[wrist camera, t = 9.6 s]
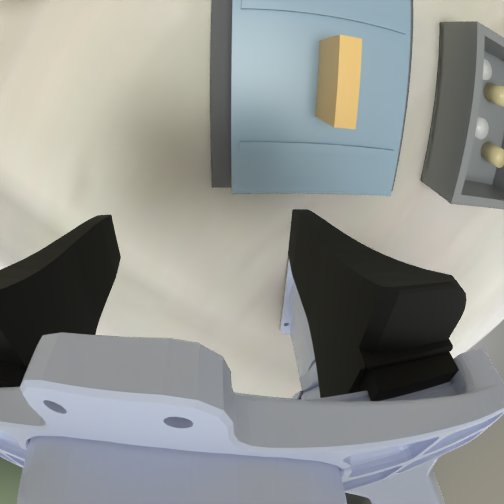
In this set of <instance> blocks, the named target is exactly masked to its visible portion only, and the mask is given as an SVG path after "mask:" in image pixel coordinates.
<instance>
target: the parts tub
mask: <svg viewBox="0 0 504 504" xmlns="http://www.w3.org/2000/svg"><path fill="white" fill-rule="evenodd" d="M421 181H422V182H423V183H425V184H426V185H427V186H429V187H430V188H431V189H433V190H434V191H435V192H437V193H438V194H439V195H440V196H442V197H443V198H444V199H446V200H447V201H448V202H449V203H451V204H458V205H469V206H478V207H488V208H497V209H504V38H503V37H502V36H500V35H498V34H497V33H495V32H494V31H492V30H490V29H489V28H487V27H485V26H484V25H482V24H480V23H479V22H443V23H440V45H439V63H438V75H437V86H436V95H435V103H434V111H433V118H432V124H431V130H430V136H429V142H428V147H427V153H426V158H425V163H424V168H423V172H422V177H421Z"/></svg>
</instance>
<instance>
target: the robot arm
mask: <svg viewBox="0 0 504 504" xmlns="http://www.w3.org/2000/svg"><path fill="white" fill-rule="evenodd" d="M288 256H289V259H288V267H287V276H286V284H285V292H284V301H283V309H282V316H281V324H280V332H281V333H282V334H291V338H292V343H293V348H294V352H295V357H296V361H297V366H298V371H299V375H300V383H301V387H302V391H300V392H298V393H296V394H295V395H294V396H293V398H292V399H290V398H278V397H268V396H258V395H250V394H242V393H235V392H233V389H232V384H231V371H230V369H229V367H228V366H227V364H226V362H225V360H224V358H223V356H221V355H219V354H217V353H215V352H214V351H212V350H210V349H208V348H206V347H205V346H203V345H201V344H199V343H197V342H191V341H185V340H179V339H174V338H145V337H120V336H102V335H95V334H96V329H97V326H98V322H99V319H100V316H101V314H102V311H103V308H104V306H105V303H106V301H107V298H108V296H109V293H110V291H111V288H112V286H113V283H114V280H115V278H116V274H117V271H118V267H119V262H120V258H121V256H120V252H119V248H118V244H117V240H116V235H115V231H114V226H113V221H112V216H111V215H98V216H96V217H93V218H91V219H89V220H88V221H86V222H84V223H83V224H81V225H79V226H78V227H76V228H75V229H73V230H72V231H70V232H69V233H67V234H66V235H64V236H62V237H61V238H59V239H58V240H56V241H54V242H53V243H51V244H50V245H48V246H47V247H45V248H43V249H42V250H40V251H38V252H36V253H35V254H33V255H31V256H29V257H27V258H25V259H23V260H21V261H19V262H17V263H15V264H12V265H10V266H8V267H6V268H4V269H1V270H0V457H2V458H4V459H6V460H8V461H10V462H12V463H14V464H16V465H18V466H21V467H23V471H22V476H21V481H20V487H19V493H18V499H17V504H347V502H346V497H345V492H346V493H351V494H355V495H360V496H363V497H367V498H369V499H370V501H371V503H372V504H446V503H445V501H444V498H443V495H442V492H441V490H440V487H439V485H438V482H437V480H436V478H435V475H434V473H433V470H432V467H433V465H434V464H435V462H436V461H437V459H438V457H440V456H442V455H444V454H446V453H448V452H450V451H452V450H454V449H456V448H458V447H460V446H462V445H464V444H466V443H468V442H470V441H472V440H473V439H475V438H476V437H477V436H479V435H480V434H481V433H482V432H483V431H484V430H486V429H487V428H488V427H489V426H491V425H492V424H493V423H494V422H495V421H496V420H497V419H499V418H500V417H501V416H502V415H503V414H504V382H503V381H502V379H501V377H500V375H499V373H498V372H497V370H496V368H495V366H494V365H493V363H492V361H491V360H490V358H489V356H488V355H487V353H486V351H485V350H484V348H478V349H475V350H472V351H468V352H465V353H462V354H460V355H458V356H457V357H455V358H454V359H453V358H452V356H451V354H450V352H449V351H451V350H452V348H453V345H452V343H451V342H450V340H449V337H450V335H451V333H452V332H453V330H454V328H455V327H456V325H457V323H458V322H459V320H460V318H461V316H462V314H463V312H464V309H465V305H466V293H465V292H464V290H463V289H462V288H461V286H460V285H459V284H458V282H457V281H456V280H455V279H454V277H453V276H452V275H448V274H444V273H439V272H435V271H430V270H426V269H422V268H419V267H416V266H413V265H409V264H406V263H404V262H401V261H398V260H396V259H393V258H391V257H388V256H386V255H383V254H381V253H379V252H377V251H375V250H373V249H371V248H369V247H367V246H365V245H363V244H361V243H359V242H358V241H356V240H354V239H353V238H351V237H349V236H348V235H346V234H344V233H343V232H341V231H340V230H338V229H337V228H335V227H334V226H332V225H331V224H329V223H328V222H327V221H325V220H324V219H322V218H321V217H319V216H318V215H316V214H315V213H313V212H312V211H310V210H293V211H292V221H291V231H290V241H289V250H288Z"/></svg>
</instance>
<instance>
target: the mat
mask: <svg viewBox="0 0 504 504" xmlns="http://www.w3.org/2000/svg"><path fill="white" fill-rule="evenodd" d="M231 39H232V0H212V13H211V66H210V113H211V170H212V188H214V187H232V185H231ZM412 39H413V0H411V33H410V58H409V73H408V85H407V95H406V104H405V113H404V121H403V128H402V135H401V141H400V148H399V154H398V160H397V165H396V171H397V166H398V161H399V155H400V150H401V144H402V137H403V131H404V124H405V117H406V110H407V101H408V93H409V83H410V72H411V58H412ZM396 171H395V176H396ZM395 176H394V181H395ZM394 181H393V186H394ZM393 186H392V191H393Z"/></svg>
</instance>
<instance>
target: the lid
mask: <svg viewBox="0 0 504 504" xmlns="http://www.w3.org/2000/svg"><path fill="white" fill-rule="evenodd" d="M410 33H411V0H232V39H231V185H232V194H251V193H316V194H356V195H381V196H391V191H392V186H393V181H394V176H395V171H396V165H397V160H398V154H399V148H400V141H401V135H402V128H403V121H404V113H405V104H406V95H407V85H408V73H409V58H410Z"/></svg>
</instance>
